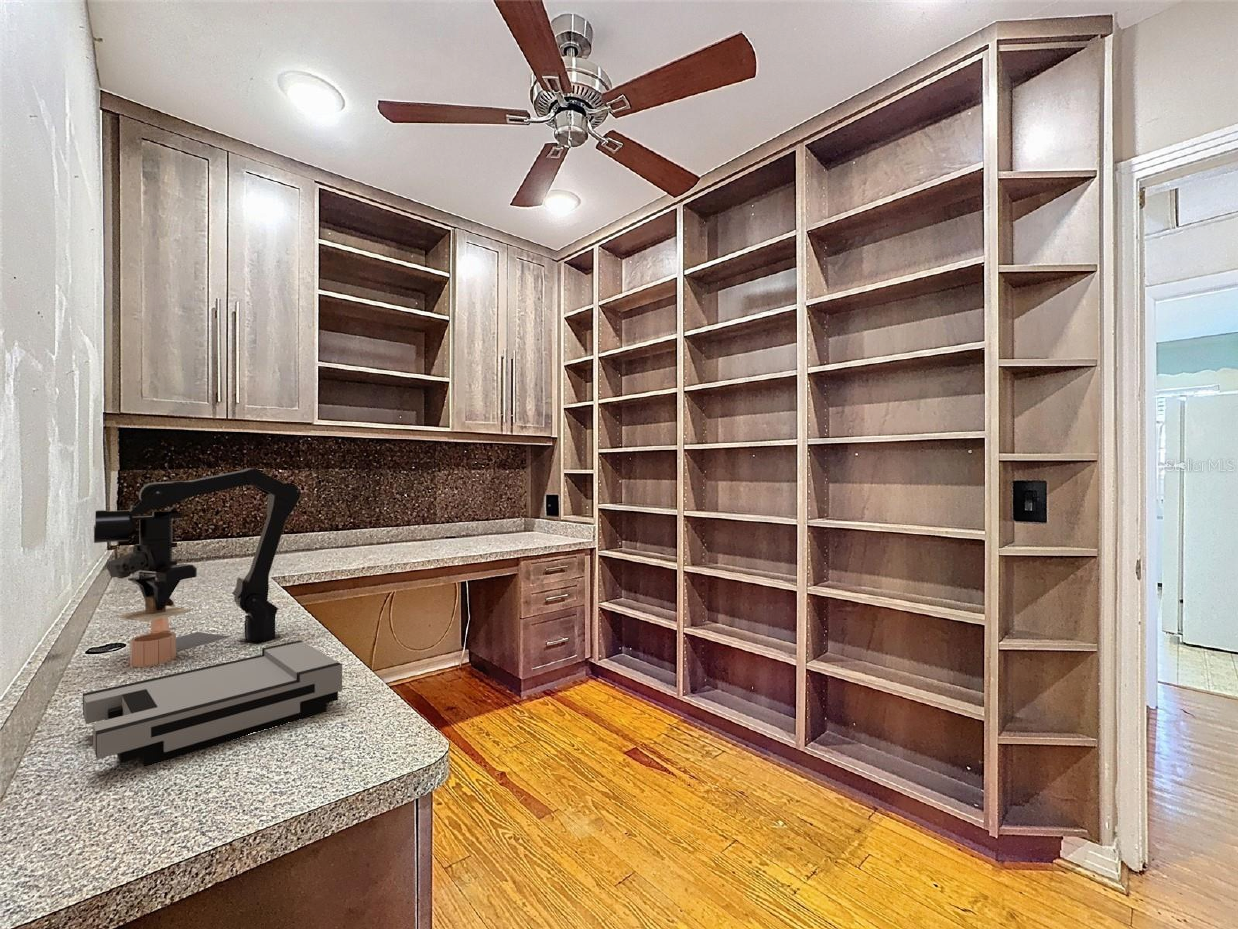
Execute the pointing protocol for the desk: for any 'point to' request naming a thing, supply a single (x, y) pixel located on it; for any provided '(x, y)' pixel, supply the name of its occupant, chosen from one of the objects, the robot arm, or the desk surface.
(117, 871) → the desk surface
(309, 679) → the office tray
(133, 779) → the desk surface
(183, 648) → the mat
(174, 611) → the lid
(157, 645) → the bowl
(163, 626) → the grandmother figurine
